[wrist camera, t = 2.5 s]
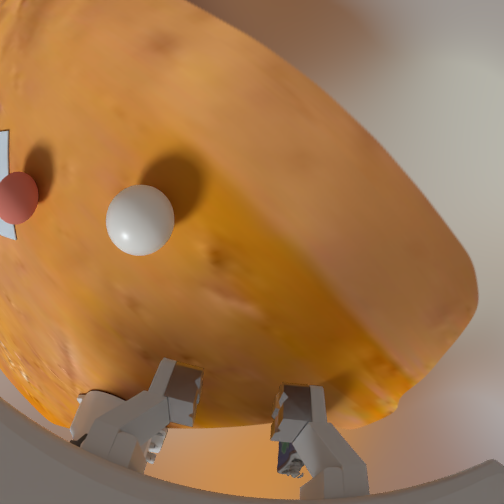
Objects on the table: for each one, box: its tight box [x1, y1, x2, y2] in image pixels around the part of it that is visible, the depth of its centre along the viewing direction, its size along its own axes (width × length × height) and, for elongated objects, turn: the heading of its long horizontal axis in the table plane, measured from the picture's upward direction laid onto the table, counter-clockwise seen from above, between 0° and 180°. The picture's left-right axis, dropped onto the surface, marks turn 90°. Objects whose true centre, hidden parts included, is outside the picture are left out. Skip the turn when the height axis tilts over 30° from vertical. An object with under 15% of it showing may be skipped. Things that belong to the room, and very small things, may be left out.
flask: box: [277, 441, 304, 478], centre depth 29 cm, size 9×3×11 cm, turn 172°
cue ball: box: [106, 185, 174, 256], centre depth 20 cm, size 6×6×6 cm
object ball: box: [0, 172, 38, 224], centre depth 20 cm, size 6×6×6 cm
